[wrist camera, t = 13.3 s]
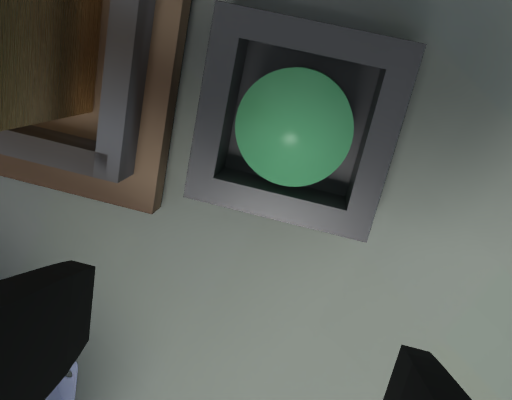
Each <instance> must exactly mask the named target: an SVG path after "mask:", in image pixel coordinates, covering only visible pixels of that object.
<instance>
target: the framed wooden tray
mask: <svg viewBox="0 0 512 400" xmlns="http://www.w3.org/2000/svg"><path fill="white" fill-rule="evenodd" d="M190 6H191V0H103V6H102V17H101V28H100V39H99V50H98V61H97V72H96V83H95V94H94V106H93V112H91V113H86V114H81V115H76V116H71V117H67V118H62V119H57V120H52V121H47V122H43V123H38V124H33V125H28V126H23V127H19V128H14V129H9V130H4V131H0V176H4V177H8V178H12V179H16V180H20V181H24V182H27V183H31V184H35V185H39V186H43V187H47V188H51V189H55V190H59V191H63V192H67V193H71V194H75V195H79V196H82V197H86V198H90V199H94V200H98V201H102V202H106V203H110V204H114V205H118V206H122V207H126V208H130V209H134V210H137V211H141V212H145V213H149V214H153V213H154V212H155V211H156V210H158V209H159V208H160V207H161V200H162V194H163V187H164V180H165V174H166V167H167V160H168V154H169V147H170V140H171V133H172V127H173V120H174V113H175V107H176V100H177V93H178V87H179V80H180V73H181V67H182V60H183V53H184V46H185V40H186V33H187V26H188V20H189V13H190Z"/></svg>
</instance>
